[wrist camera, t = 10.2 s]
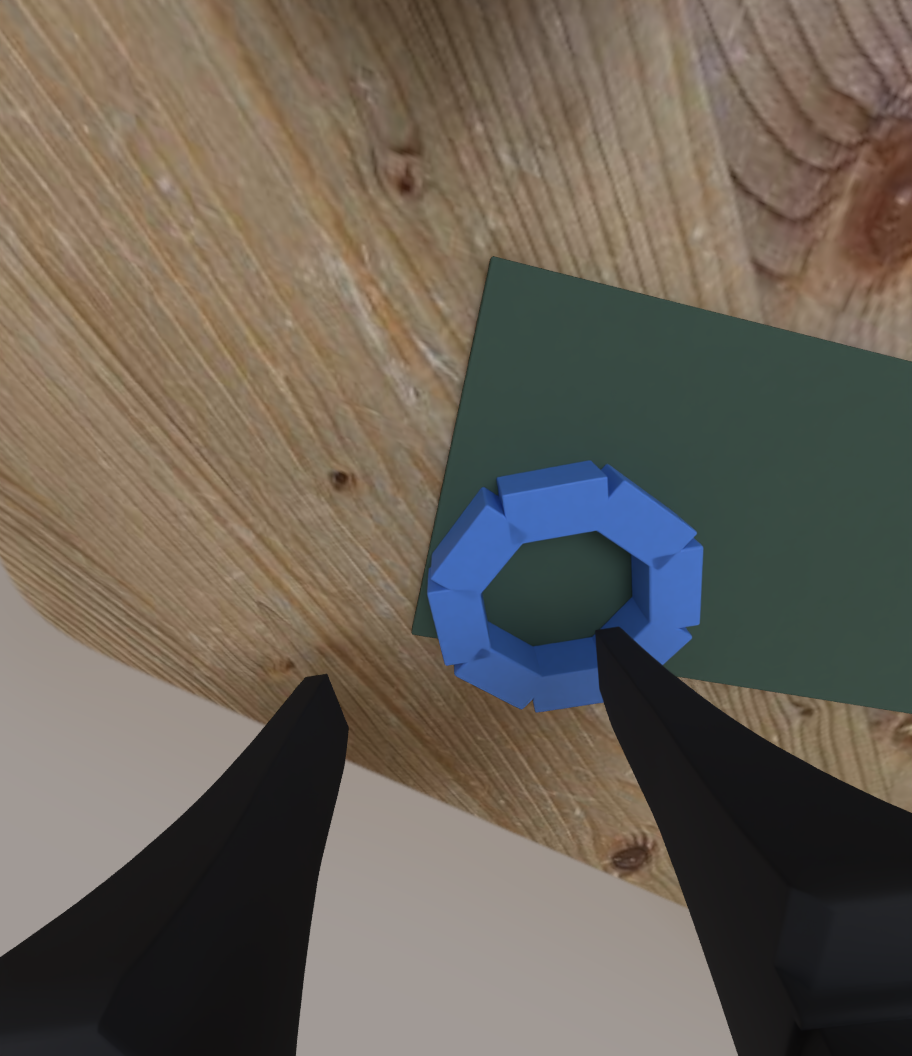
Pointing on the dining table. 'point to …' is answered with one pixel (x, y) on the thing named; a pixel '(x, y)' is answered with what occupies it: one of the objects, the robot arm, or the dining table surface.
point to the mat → (699, 480)
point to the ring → (544, 513)
